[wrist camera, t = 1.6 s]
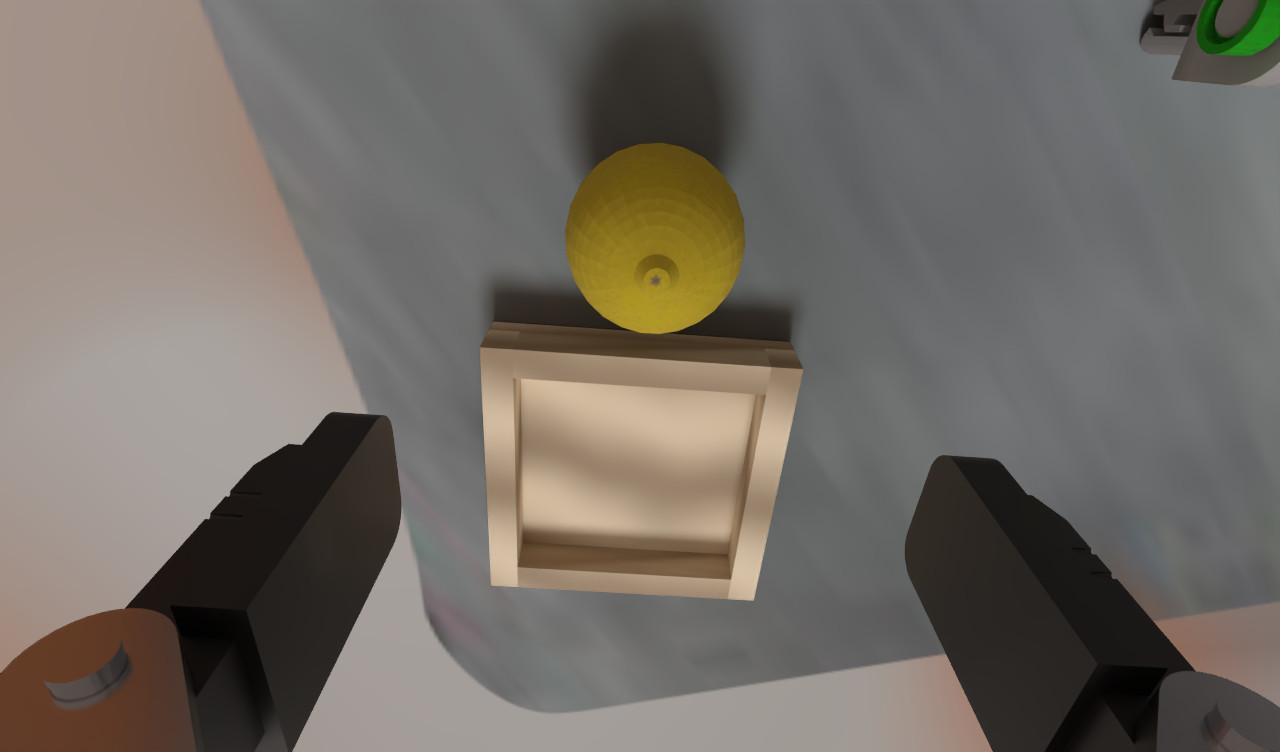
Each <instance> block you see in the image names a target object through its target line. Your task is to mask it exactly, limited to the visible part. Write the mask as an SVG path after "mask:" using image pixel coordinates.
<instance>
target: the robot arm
mask: <svg viewBox="0 0 1280 752" xmlns="http://www.w3.org/2000/svg"><path fill="white" fill-rule="evenodd" d="M400 519H401V494H400V486H399V478H398V470H397V462H396V453H395V445H394V437H393V430H392V425H391V422H390V420H389V418H388V417H387V416H384V415H369V414H354V413H340V412H332V413H330V414H328V415H327V416H326V417H325V418H324V419H323V420H322V421H321V423H320V424H319V425H318V426H317V428H316V429H315V430H314V431H313V433H312V434H311V435H310V436H309V437H308V438H307V440H306V441H305V442H304V443H303V444H302V445H295V444H288V445H286V446H284V447H283V448H281V449H279V450H278V451H276V452H275V453H273V454H271V455H270V456H268V457H266V458H265V459H263V460H261V461H260V462H258V463H256V464H255V465H253V466H252V468H251V469H250V470H249V471H248V472H247V473H246V474H245V475H244V476H243V478H242V479H241V480H240V481H239V482H238V483H237V484H236V485H235V487H234V488H233V489H232V490H231V491H230V496H229V497H226V496H225V498H224V499H223V500H222V501H221V502H220V503H219V504H218V505H217V507H216V508H215V509H214V510H213V511H212V512H211V514H210V519H205V520H204V521H203V522H202V523H201V524H200V525H199V526H198V528H197V529H196V530H195V531H194V532H193V533H192V534H191V535H190V537H189V538H188V539H187V540H186V541H185V542H184V543H183V545H181V547H180V548H179V549H178V550H177V551H176V552H175V553H174V554H173V555H172V557H171V558H170V559H169V560H168V561H167V562H166V563H165V565H163V567H162V568H161V569H160V570H159V571H158V572H157V573H156V574H155V575H154V577H153V578H152V579H151V580H150V581H149V582H148V583H147V585H145V587H144V588H143V589H142V590H141V591H140V592H139V593H138V594H137V595H136V597H135V598H134V599H133V600H132V601H131V602H130V603H129V604H128V606H127V607H126V608H125V609H116V610H111V611H106V612H102V613H98V614H95V615H91V616H88V617H85V618H83V619H80V620H77V621H74V622H72V623H70V624H68V625H65V626H63V627H61V628H59V629H57V630H55V631H53V632H52V633H50V634H49V635H47V636H45V637H43V638H42V639H40V640H38V641H37V642H36V643H34V644H33V645H31V646H30V647H28V648H27V649H26V650H24V651H23V652H22V653H21V654H20V655H18V656H17V657H16V658H15V659H14V660H13V661H12V662H11V663H10V664H9V665H8V666H7V667H6V668H5V669H4V670H3V671H2V672H1V673H0V752H292V751H293V749H294V747H295V745H296V743H297V741H298V739H299V737H300V734H301V732H302V730H303V728H304V726H305V724H306V722H307V720H308V718H309V716H310V714H311V712H312V710H313V708H314V706H315V704H316V702H317V700H318V698H319V696H320V694H321V691H322V690H323V687H324V685H325V683H326V681H327V679H328V677H329V675H330V673H331V671H332V669H333V667H334V665H335V663H336V661H337V659H338V657H339V655H340V653H341V651H342V649H343V647H344V645H345V642H346V640H347V638H348V636H349V634H350V632H351V630H352V628H353V626H354V624H355V622H356V620H357V618H358V616H359V614H360V612H361V610H362V608H363V606H364V604H365V602H366V600H367V598H368V596H369V593H370V591H371V589H372V587H373V585H374V583H375V581H376V579H377V577H378V575H379V573H380V571H381V569H382V567H383V565H384V563H385V561H386V559H387V557H388V555H389V553H390V551H391V549H392V547H393V544H394V542H395V539H396V537H397V533H398V530H399V525H400ZM905 561H906V567H907V571H908V575H909V577H910V580H911V582H912V584H913V586H914V588H915V590H916V592H917V594H918V596H919V598H920V600H921V602H922V605H923V607H924V609H925V611H926V613H927V615H928V617H929V619H930V621H931V623H932V625H933V628H934V630H935V632H936V634H937V636H938V638H939V640H940V642H941V644H942V646H943V648H944V650H945V653H946V655H947V657H948V659H949V661H950V663H951V665H952V667H953V669H954V671H955V673H956V676H957V677H958V680H959V682H960V684H961V686H962V688H963V690H964V692H965V694H966V696H967V698H968V701H969V703H970V705H971V706H972V708H973V711H974V713H975V715H976V717H977V719H978V721H979V723H980V725H981V728H982V730H983V732H984V734H985V736H986V738H987V740H988V742H989V744H990V746H991V749H992V751H993V752H1280V707H1278V706H1277V705H1275V704H1274V703H1273V702H1271V701H1269V700H1268V699H1266V698H1264V697H1263V696H1261V695H1259V694H1258V693H1256V692H1254V691H1252V690H1250V689H1248V688H1246V687H1244V686H1242V685H1240V684H1238V683H1235V682H1233V681H1230V680H1228V679H1225V678H1222V677H1219V676H1216V675H1212V674H1207V673H1203V672H1196V671H1195V670H1194V669H1193V667H1192V666H1191V665H1190V664H1189V663H1188V662H1187V660H1186V659H1185V658H1184V657H1183V656H1182V655H1181V653H1180V652H1179V651H1178V650H1177V649H1176V648H1175V646H1174V645H1173V644H1172V643H1171V642H1170V640H1169V639H1168V638H1167V637H1166V636H1165V635H1164V633H1163V632H1162V631H1161V630H1160V629H1159V628H1158V627H1157V625H1156V624H1155V623H1154V622H1153V621H1152V619H1151V618H1150V617H1149V616H1148V615H1147V614H1146V612H1145V611H1144V610H1143V609H1142V608H1141V607H1140V605H1139V604H1138V603H1137V602H1136V601H1135V600H1134V598H1133V597H1132V596H1131V595H1130V594H1129V593H1128V591H1127V590H1126V589H1125V588H1124V587H1123V585H1122V584H1121V583H1120V582H1119V581H1118V580H1117V579H1112V577H1111V574H1112V573H1111V571H1110V570H1109V569H1108V568H1107V567H1106V566H1105V564H1104V563H1103V562H1102V561H1101V560H1100V559H1099V557H1098V556H1097V555H1094V554H1091V548H1090V547H1089V546H1088V545H1087V543H1086V542H1085V541H1084V540H1083V539H1082V538H1081V536H1080V535H1079V534H1078V533H1077V532H1076V531H1075V529H1074V528H1073V527H1072V526H1071V525H1070V523H1069V522H1068V521H1067V520H1066V519H1064V518H1063V517H1061V516H1060V515H1059V514H1057V513H1056V512H1054V511H1053V510H1052V509H1050V508H1049V507H1048V506H1046V505H1045V504H1043V503H1042V502H1041V501H1039V500H1038V499H1036V498H1035V497H1034V496H1032V495H1027V494H1026V493H1025V491H1024V490H1023V489H1022V488H1021V487H1020V485H1019V484H1018V483H1017V482H1016V480H1015V479H1014V478H1013V477H1012V476H1011V474H1010V473H1009V472H1008V471H1007V469H1006V468H1005V467H1004V466H1003V465H1002V464H1001V463H1000V462H999V461H998V460H996V459H991V458H976V457H962V456H947V455H942V456H939V457H938V458H936V460H935V461H934V462H933V464H932V466H931V468H930V471H929V473H928V476H927V479H926V482H925V485H924V488H923V490H922V493H921V496H920V499H919V502H918V505H917V507H916V510H915V513H914V516H913V519H912V522H911V524H910V527H909V530H908V533H907V537H906V542H905Z"/></svg>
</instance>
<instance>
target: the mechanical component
mask: <svg viewBox="0 0 1280 752" xmlns="http://www.w3.org/2000/svg"><path fill="white" fill-rule="evenodd" d="M1154 15H1164V28H1149V29H1148V30H1147V32H1146V33H1145V34H1144V36H1143V38H1142V40H1141V43H1140V46H1141V47H1142V49H1144V50H1145V51H1146V52H1148V53H1151V54H1168V55H1181V57H1180V59H1179V62H1178V64H1177V67H1176V69H1175V72H1174V74H1173V77H1172V79H1173V80H1182V81H1192V82H1202V83H1213V84H1223V85H1238V86H1257V87H1265V86H1266V87H1280V0H1165V1H1162V2H1160V3H1159V4H1157V5H1156V6H1154Z"/></svg>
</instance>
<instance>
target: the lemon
mask: <svg viewBox="0 0 1280 752" xmlns="http://www.w3.org/2000/svg"><path fill="white" fill-rule="evenodd" d="M565 233H566V250H567V258H568V262H569V265H570V268H571V271H572V274H573V277H574V280H575V282H576V284H577V286H578V287H579V289H580V290H581V292H582V294H583V295H584V297H585V298H586V300H587V301H588V302H589V303H590V304H591V305H592V306H593V307H594V308H595V309H596V310H597V311H598V312H599V313H600V314H601V315H602V316H603V317H605V318H606V319H608V320H610V321H612V322H613V323H615V324H617V325H619V326H620V327H623V328H626V329H630V330H633V331H636V332H639V333H652V334H663V333H668V332H674V331H679V330H682V329H684V328H686V327H689V326H691V325H694V324H696V323H698V322H700V321H701V320H702V319H704V318H705V317H706V316H708V315H709V314H710V313H712V312H713V311H714V310H715V309H716V308H717V307H718V306H719V305H720V303H721V302H722V301H723V300H724V299H725V297H726V296H727V295H728V294H729V292H730V290H731V288H732V286H733V284H734V282H735V280H736V278H737V276H738V274H739V271H740V268H741V263H742V258H743V253H744V248H745V236H744V219H743V216H742V213H741V210H740V206H739V203H738V200H737V197H736V194H735V193H734V191H733V190H732V188H731V187H730V185H729V183H728V182H727V180H726V179H725V177H724V176H723V174H722V173H721V172H720V171H719V170H718V169H716V168H715V167H714V166H713V165H712V164H711V163H710V162H709V161H707V160H706V159H705V158H704V157H702V156H700V155H698V154H696V153H694V152H692V151H690V150H688V149H686V148H684V147H680V146H675V145H670V144H666V143H648V144H638V145H635V146H632V147H629V148H626V149H623V150H620V151H617V152H616V153H614V154H613V155H611V156H610V157H608V158H607V159H605V160H604V161H602V162H601V163H599V164H598V165H597V166H596V167H595V168H594V169H593V170H592V171H591V173H590V174H589V175H588V176H587V177H586V178H585V179H584V181H583V182H582V183H581V185H580V187H579V189H578V191H577V193H576V195H575V197H574V199H573V201H572V203H571V205H570V210H569V215H568V220H567V225H566V230H565Z"/></svg>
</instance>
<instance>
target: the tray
mask: <svg viewBox="0 0 1280 752" xmlns="http://www.w3.org/2000/svg"><path fill="white" fill-rule="evenodd" d="M480 361H481V382H482V403H483V424H484V444H485V465H486V486H487V507H488V528H489V548H490V569H491V585H493V586H510V587H528V588H545V589H563V590H580V591H597V592H615V593H632V594H650V595H667V596H684V597H702V598H719V599H736V600H754V596H755V592H756V587H757V582H758V578H759V573H760V568H761V564H762V559H763V554H764V550H765V545H766V540H767V536H768V531H769V527H770V522H771V517H772V513H773V508H774V503H775V499H776V494H777V489H778V485H779V480H780V476H781V471H782V466H783V462H784V457H785V452H786V448H787V443H788V438H789V434H790V429H791V424H792V420H793V415H794V411H795V406H796V401H797V397H798V392H799V387H800V383H801V378H802V373H803V367H802V365H801V363H800V361H799V359H798V357H797V355H796V352H795V350H794V348H793V346H792V344H791V342H783V341H769V340H754V339H740V338H726V337H711V336H697V335H682V334H668V333H663V334H652V333H639V332H636V331H624V330H610V329H595V328H581V327H566V326H552V325H537V324H523V323H508V322H494V321H493V323H492V325H491V327H490V329H489V331H488V333H487V335H486V336H485V338H484V340H483V342H482V344H481V346H480Z"/></svg>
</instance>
